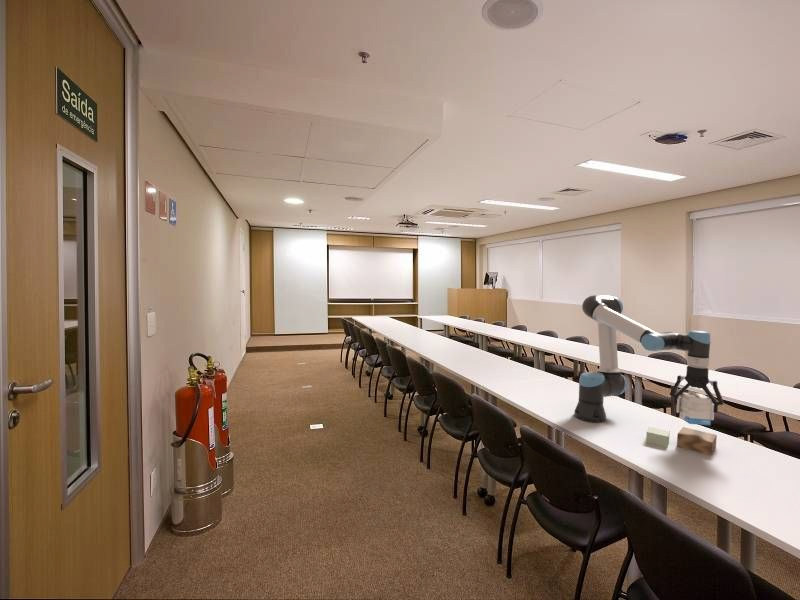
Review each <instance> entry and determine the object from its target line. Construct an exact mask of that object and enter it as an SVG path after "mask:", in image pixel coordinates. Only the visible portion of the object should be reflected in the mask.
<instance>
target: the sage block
mask: <svg viewBox="0 0 800 600" xmlns="http://www.w3.org/2000/svg"><path fill="white" fill-rule="evenodd" d="M645 435H646V439H645V442H646V443H648V444H652V445H656V446H660V447H664V448H668V447H669V444H670V431H669V430H666V429H662V428H661V429H660V428H656V427H651V426H648V428H647V430H646V434H645Z"/></svg>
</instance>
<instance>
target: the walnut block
mask: <svg viewBox="0 0 800 600" xmlns="http://www.w3.org/2000/svg"><path fill="white" fill-rule="evenodd" d="M717 436H718V435H717V434H715V433H711V432H706V431H701V430H697V429H692V428H689V427H685V426H683V427H682V428H681V429H680V430H679V432H677V438H676V447H677V448H682V449H685V450H689V451H692V452H695V451H696V453H699V454H703V455H707V456H711V457H712V456H713V454H714V452H715V450H716V449H717V438H718V437H717Z"/></svg>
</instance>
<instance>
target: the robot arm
mask: <svg viewBox="0 0 800 600" xmlns="http://www.w3.org/2000/svg"><path fill="white" fill-rule="evenodd" d="M581 309H582V311H583V313H584V315H586V316H587V318H590V319H592V320H594V321H595V322H596V323H597V331H598V349H599V350H598V351H599V368H598V369H596V371H586V372H583V373H581V374H580V375H579V381H578V401H577V404H576V406H575V409H574V415H573V416H574V417H575V418H576V419H579V420H581V421H584V422H589V423H596V424H597V423H605V422H606V421H607V414H606V410H605V407H604V398H606V397H616V396H619V395H623V393H625V392H626V389H627V387H628V382H627V379H626V378H625V375H623V374H622V370H621V369H620V368H619V359H618V357H619V356H618V344H617V338H618V337H617V331H618V332H620V333H622V334H623V335H625V336H627V337H628V338H631V339H632V340H634V341H636V342H639V343H640V344H641V346H642V348H643V349H645V350H646V351H650V352H658V351H660V352H661V351H669V350H672V351H673V350H679V351H684V352H687V360H686V364H687V366H686V375H685V376H684V375H681V374H679V375H677V378H676V382H675V383H674V385H673V387H672V389H671V391H670V392H669V396H672V397H673V398H674V400H673V404H674V405H676V413H677V414H678V413H679V414H680V399H681V394H682V393H685V391H686V390H687V389H689V387H691V388H697V389H702V390H703V391H704V393H705V394H706V396H707V397H709V398H710V399H711V401H712V402H711V421H714V419H715V413H716V414H717V413H718V411H719V410H718V409H719V406H723V405H724V403H725V402H724V399H723V397H722V394H721V392H720V391H721V390H719V387H718V380H710V379H709V368H708V367H710V349H711V348H710V347H711V334H710V333H709V332H708V331H702V330H689V331H688V334H687V333H678V332H673V331H662V332H661V333H660V332H657V331H654V330H653V329H652V328H649V327H647V326H645V325H643V324H641V323H639V322H637V321H635V320H633V319H630V318H629V317H627V316H625V315H623V314H622V313H623V310H624V306H623V303H622V301H621V299H619V297H617V296H613V295H608V294H607V295H595V294H594V295H590V296H588V297H586V298H585V299H584V300H583V301H582V305H581ZM684 380H685V382H686V384H685V385H684V386H683V387H682V388H680V389H679V391H678V392H676V391H677V389H678V388H679V386H680V384H681V383H682V381H684ZM708 384H710V386H712V388H713V391H714V393H715V396H716V397H715V396H714V394H713V393H712V392H711V391H710V389H709V387H708V386H707V385H708Z"/></svg>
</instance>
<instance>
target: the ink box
mask: <svg viewBox="0 0 800 600" xmlns="http://www.w3.org/2000/svg"><path fill="white" fill-rule="evenodd" d="M686 390H687V391H688V392H683V393H682V394H681V395H680V397H681V399H680V412H679V418H680V419H681V420H683V421H685V422H686V423H688V424H689V425H702V426H712V424H711V423H712V422H711V421H712V420H711V405H712V403H713V402H712V401H711V399H710V398H709V397H708V395H705V394H702V393H696V392H695V391H692V390H691V389H689V388H687V389H686Z"/></svg>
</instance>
